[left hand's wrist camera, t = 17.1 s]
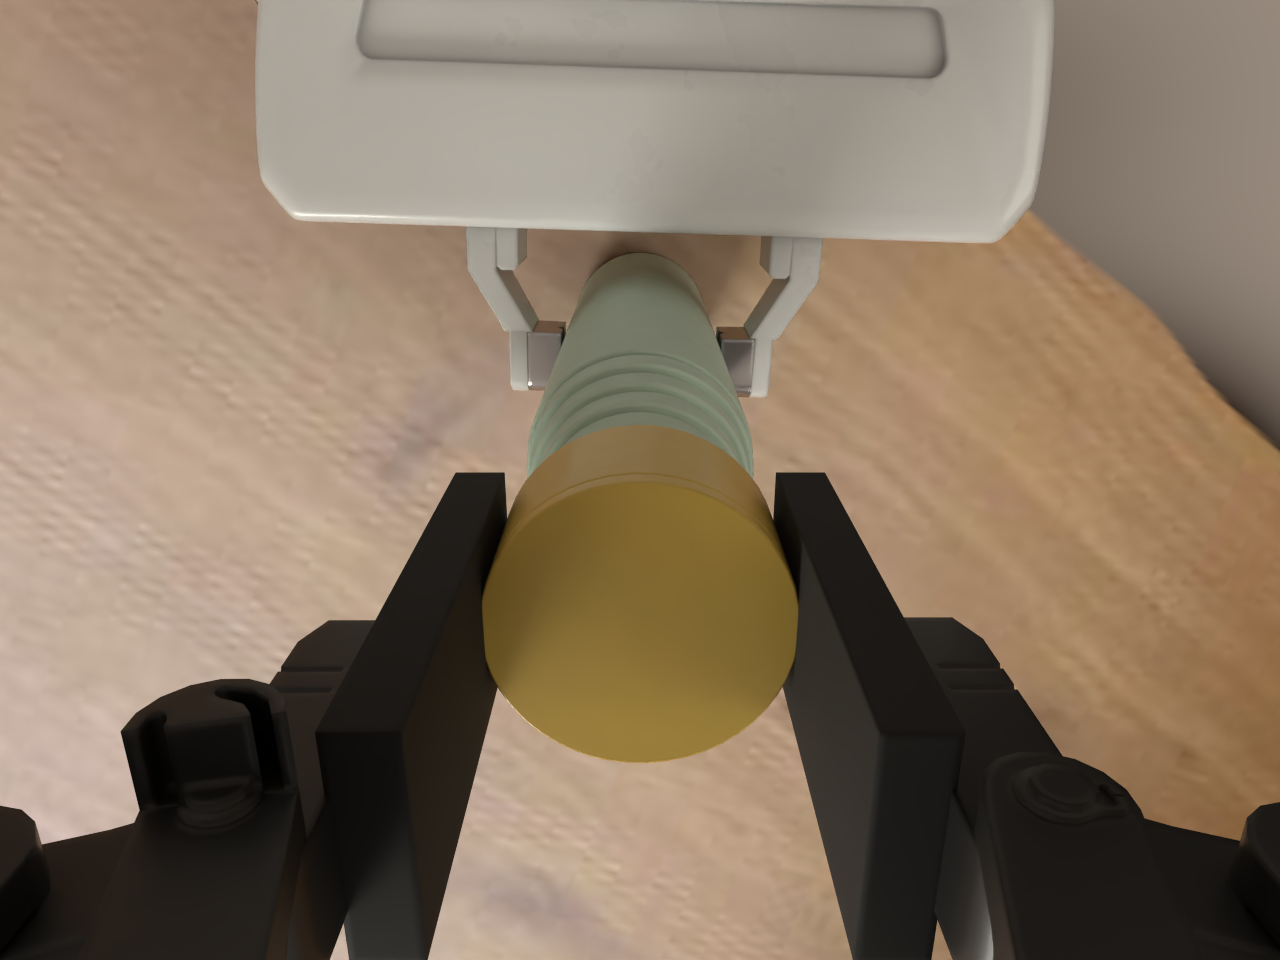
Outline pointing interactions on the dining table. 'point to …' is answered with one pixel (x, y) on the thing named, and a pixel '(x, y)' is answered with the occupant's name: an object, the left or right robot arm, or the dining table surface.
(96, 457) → the dining table surface
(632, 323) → the bottle
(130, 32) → the dining table surface
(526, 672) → the cap
